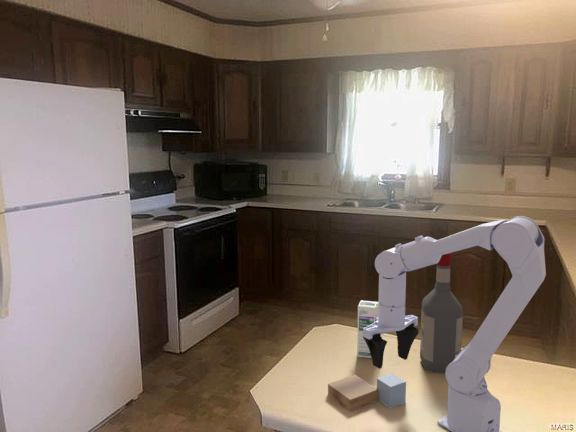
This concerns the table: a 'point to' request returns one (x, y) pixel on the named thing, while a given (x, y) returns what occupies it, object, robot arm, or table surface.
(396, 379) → the blue block
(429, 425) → the table surface
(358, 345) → the syrup box
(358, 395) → the walnut block
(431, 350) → the liquor
